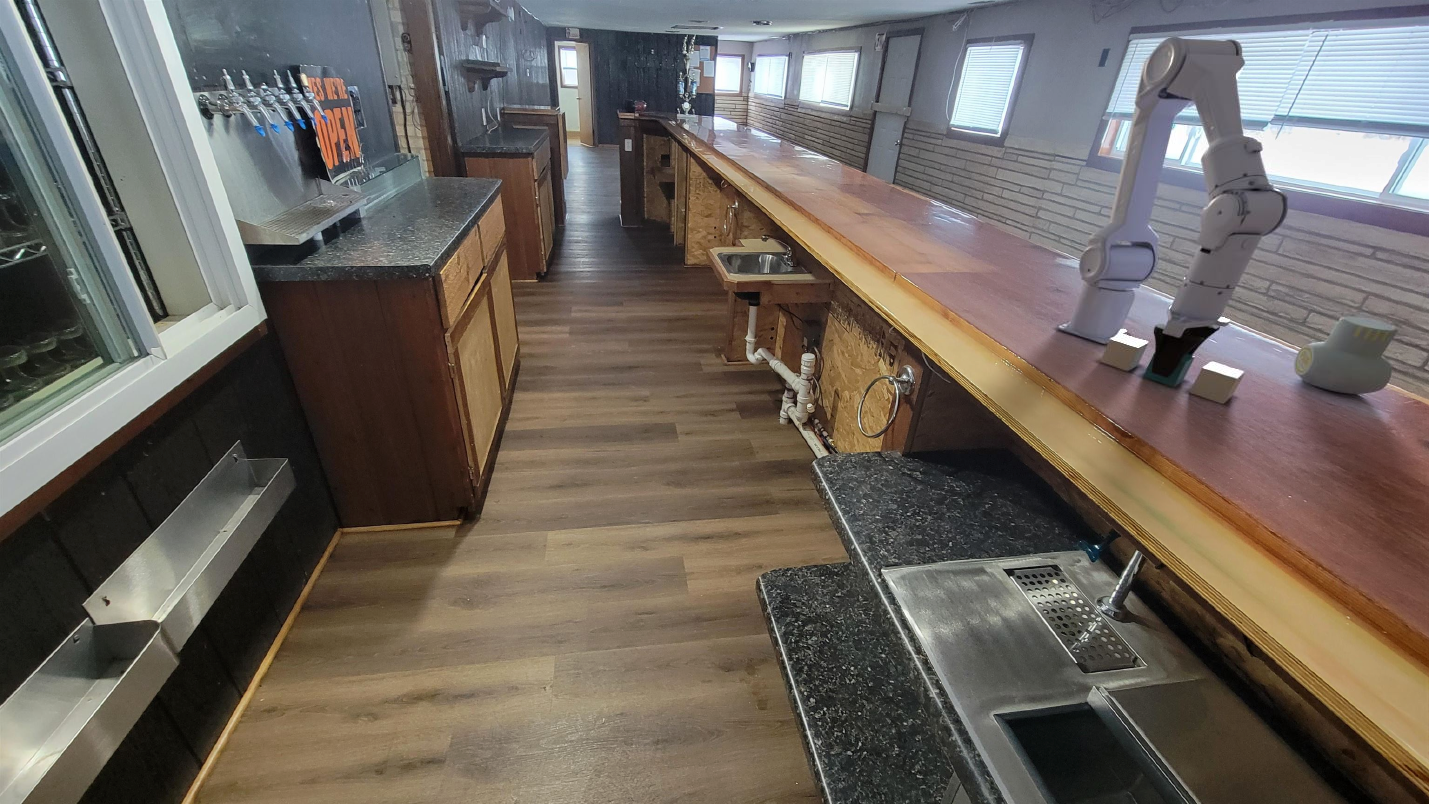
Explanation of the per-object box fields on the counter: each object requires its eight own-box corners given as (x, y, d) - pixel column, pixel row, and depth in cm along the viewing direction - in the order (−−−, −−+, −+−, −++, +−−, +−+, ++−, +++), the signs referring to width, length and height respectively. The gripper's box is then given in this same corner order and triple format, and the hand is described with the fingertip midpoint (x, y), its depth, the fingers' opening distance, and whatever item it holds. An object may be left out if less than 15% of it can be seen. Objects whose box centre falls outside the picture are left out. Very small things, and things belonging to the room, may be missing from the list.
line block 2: (1198, 385, 83) (1211, 361, 81) (1231, 396, 80) (1245, 371, 78) (1189, 392, 81) (1202, 367, 79) (1222, 404, 78) (1237, 378, 76)
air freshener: (1378, 408, 79) (1425, 342, 74) (1300, 391, 83) (1341, 327, 78) (1354, 379, 87) (1396, 318, 82) (1285, 365, 91) (1321, 306, 86)
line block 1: (1110, 356, 91) (1120, 333, 89) (1138, 365, 89) (1148, 342, 87) (1100, 361, 89) (1109, 338, 87) (1127, 371, 86) (1138, 347, 84)
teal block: (1152, 370, 87) (1164, 346, 85) (1183, 380, 84) (1195, 356, 82) (1142, 376, 85) (1154, 352, 83) (1173, 387, 82) (1186, 362, 80)
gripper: (1229, 299, 71) (1180, 394, 77) (1260, 281, 78) (1214, 368, 85) (1164, 284, 75) (1124, 374, 82) (1200, 268, 83) (1160, 352, 90)
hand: (1166, 370), depth 84 cm, fingers open, 4 cm apart
